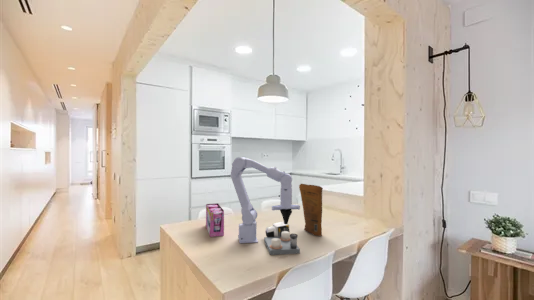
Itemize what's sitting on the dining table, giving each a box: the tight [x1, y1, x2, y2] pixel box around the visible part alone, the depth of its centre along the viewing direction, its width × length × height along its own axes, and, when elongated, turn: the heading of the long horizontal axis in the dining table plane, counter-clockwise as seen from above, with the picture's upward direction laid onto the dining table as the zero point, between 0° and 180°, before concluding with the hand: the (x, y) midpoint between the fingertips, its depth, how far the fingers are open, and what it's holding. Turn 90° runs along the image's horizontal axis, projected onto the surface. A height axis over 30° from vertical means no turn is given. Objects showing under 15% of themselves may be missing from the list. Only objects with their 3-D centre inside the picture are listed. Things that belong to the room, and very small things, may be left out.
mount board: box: [263, 236, 301, 256], centre depth 129 cm, size 14×18×2 cm
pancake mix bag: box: [298, 183, 323, 237], centre depth 152 cm, size 7×19×28 cm, turn 27°
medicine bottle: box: [265, 221, 291, 237], centre depth 142 cm, size 7×7×12 cm
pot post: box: [290, 233, 298, 249], centre depth 123 cm, size 4×4×6 cm
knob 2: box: [281, 231, 291, 240], centre depth 135 cm, size 4×4×3 cm
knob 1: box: [271, 238, 281, 248], centre depth 124 cm, size 4×4×3 cm
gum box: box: [205, 203, 225, 238], centre depth 153 cm, size 24×8×14 cm, turn 19°
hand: (285, 223), depth 134 cm, fingers closed
